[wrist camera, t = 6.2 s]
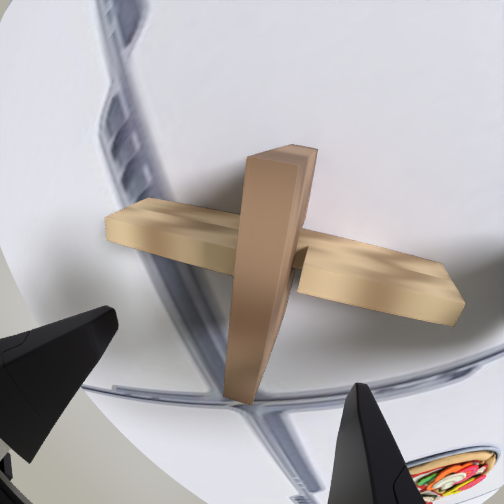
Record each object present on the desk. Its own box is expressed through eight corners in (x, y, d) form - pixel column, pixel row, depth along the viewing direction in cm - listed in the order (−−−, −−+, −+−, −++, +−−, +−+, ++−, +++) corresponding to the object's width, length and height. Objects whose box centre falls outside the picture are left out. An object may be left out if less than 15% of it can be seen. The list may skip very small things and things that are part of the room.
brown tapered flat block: (291, 144, 16) (246, 156, 8) (317, 148, 16) (298, 165, 8) (265, 305, 22) (223, 396, 14) (285, 311, 21) (251, 405, 13)
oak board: (441, 263, 16) (465, 303, 12) (433, 283, 17) (453, 326, 12) (148, 197, 21) (104, 217, 16) (148, 216, 21) (106, 240, 17)
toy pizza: (400, 504, 36) (399, 519, 32) (326, 484, 35) (321, 504, 31) (510, 457, 23) (513, 474, 19) (477, 424, 21) (482, 451, 18)
